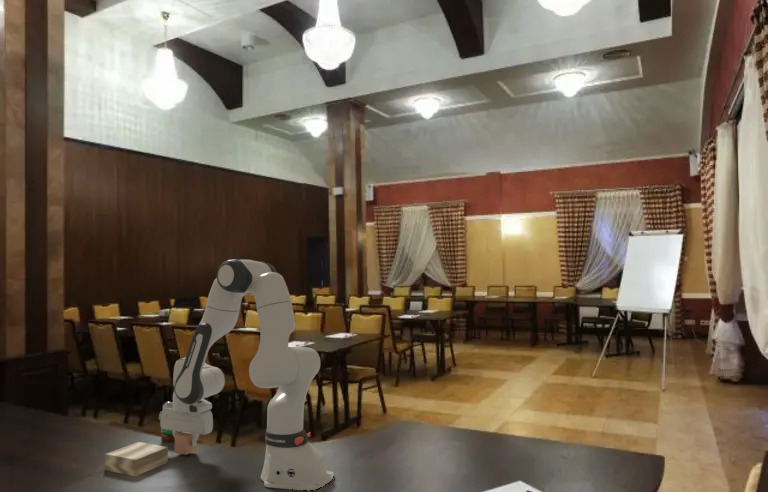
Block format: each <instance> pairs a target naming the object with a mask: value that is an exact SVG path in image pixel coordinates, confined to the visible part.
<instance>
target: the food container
mask: <svg viewBox="0 0 768 492" xmlns="http://www.w3.org/2000/svg"><path fill="white" fill-rule="evenodd" d="M162 411H163V410H162ZM162 411H160V413H159V415H158V420H159V421H161V414H162ZM160 433H161V437H160V438H161V441H162V442H164V443H170V444H171V443H175V438H174V436H173V434H172V430H166V429H162V428H161V427H160ZM179 433H181V432H179Z"/></svg>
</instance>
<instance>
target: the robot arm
mask: <svg viewBox="0 0 768 492" xmlns="http://www.w3.org/2000/svg"><path fill="white" fill-rule="evenodd" d="M246 294H251V295H252V296H253V298H254V300H255V305H256V313H257V317H258V323H259V324H258V326H259V332H260V337H259V345H258V349H257V351H256V354H255V356H253V358H252V360H251V361H250V364H249V367H248V373H249V374H248V375H249V378H250V381H251V382H252V383H253V385H254V386H255V387H257V388H261V389H273V388H274V389H275V388H277V390H276V393H275V394H274V396H273V398H271V399H270V401H269V402H268V404H267V408H266V409H267V410H266V411H267V413H266V414H267V415H266V416H267V418H266V430H265V440H264V442H265V455H264V461H263V467H262V471H261V475H260V480H261V481H262V482H263V484H264V485H263V486H264V487H266V488H273V489H283V490H292V489H293V491H303V490H307V491H306V492H311V491H310V490H314V489H318V488H320V487H322V486H324V485H325V484H326V483H328V482H329V481H330V480H331V479H332V478H333V476H334V477H335V473H334V471H332V470H327V469H328V468H327V463H326V462H327V461H326V457H325V455H323V454H322V453H321V452H320V451H319V450H318V449H317V448H316V447H315V446H313V445H312V444H311V443H310V441H309V439H308V437H311V431H310V432H308V433H307V432H306V430H305V428H304V413H305V411H304V410H305V401H306V398H307V394H308V391H309V388H310V385H311V383H312V381H313V380H314V378H315V377H316V375H317V374H319V372H320V369H321V357H320V354H319V352H318V351H316V349H314V348H311V347H307V346H295V347H294V346H293V347H289V341H290V335H291V334H292V333H293V332H294V331H295V329H296V325H297V323H296V318H295V313H294V308H293V304H292V300H291V299H292V298H291V295H290V292H289V288H288V286H287V283H286V281H285V279H284V277H283V275H281V274H280V273H278V271H277V270H276V267H275V266H273V265H272V264H271V263H267V262H266V261H257V260H253V259H235V258H233V259H228V260H225V261H223V262H222V263H221V264H220V265H219V266H218V268H217V271H216V278H215V279H214V280H213V283H212V285H211V288H210V291H209V293H208V297H207V300H206V305H205V309H204V312H203V315H202V318H201V320H200V322H199V324H198V325H197V327H196V329H195V330H194V333H193V335H192V337H191V341H190V343H189V347H188V350H187V352H186V356H185V357H181V358H179V359H177V360H176V361H175V363H174V366H173V377H172V378H173V379H172V382H173V383H172V384H173V388H174V390H173V392H172V393H173V394H172V402H171V401H166V402H164V403H163V404H162V414H161V420H160V422H159V423H160V424H159V425H160V429H161V428H162V429H166V430H172V434H173V436H174V438H175V435H176V434H179V432H187V433H192V436H194V437H193V439H192V440H191V441H190V446H196V444H197V445H198V443H197V442H198V439H199V437H200V435H202V436H206V435H207V434H208V435H209V434H210V433H211V432H213V428H214V420H213V413H212V408H213V404H212V402H210V401H208V400H206V398H209V397H211V396H215V395H216V394H217V395H218V394H219V393H221V392H222V390H223V389H224V387H225V385H226V375H225V373H224V372H223V371H222V369H221V368H220V367H217V366H213V365H210V364H207V363H206V359H207V356H208V353H209V350H210V349H211V347H212V346H213V345H214V344H215V342H217V341H218V340H219V339H221V338H222V337H223V336H226V335H228V333H230V332H231V331H232V330H233V329H234V328H235V326H236V324H237V322H238V319H239V316H240V310H241V305H242V300H243V298H244V296H245V295H246ZM330 475H331V476H330ZM333 479H334V478H333ZM324 487H325V486H324ZM322 488H323V487H322ZM320 489H321V488H320ZM318 490H319V489H318ZM314 491H315V490H314Z"/></svg>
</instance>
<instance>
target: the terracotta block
mask: <svg viewBox="0 0 768 492" xmlns="http://www.w3.org/2000/svg"><path fill="white" fill-rule="evenodd" d="M193 437H194V436H192V433H187V432H181V433H179V434H176V435H175V442H174V454H180V455H188V454H191V453H193V452H195V451H197V450H198V449H197V445H198V443H197V444H196V446H190V441H191V440H192V439H193Z"/></svg>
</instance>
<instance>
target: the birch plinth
mask: <svg viewBox="0 0 768 492" xmlns="http://www.w3.org/2000/svg"><path fill="white" fill-rule="evenodd" d="M168 453H169V446H163V445H159V444H153V443H147V442H140V441H137V442H134V443H132V444H129V445H126V446H123V447H121V448H118V449H115V450H112V451H110V452H107V453H104V471H108V472H112V473H118V474H122V475H126V476H131V477H138V476H139V475H143V474H144V473H147V472H149V471H152V470H154V469H157V468H158V467H160V466H163V465H165V464H167V463H168V462H169V461H168V459H169V458H168V457H169V454H168Z"/></svg>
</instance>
